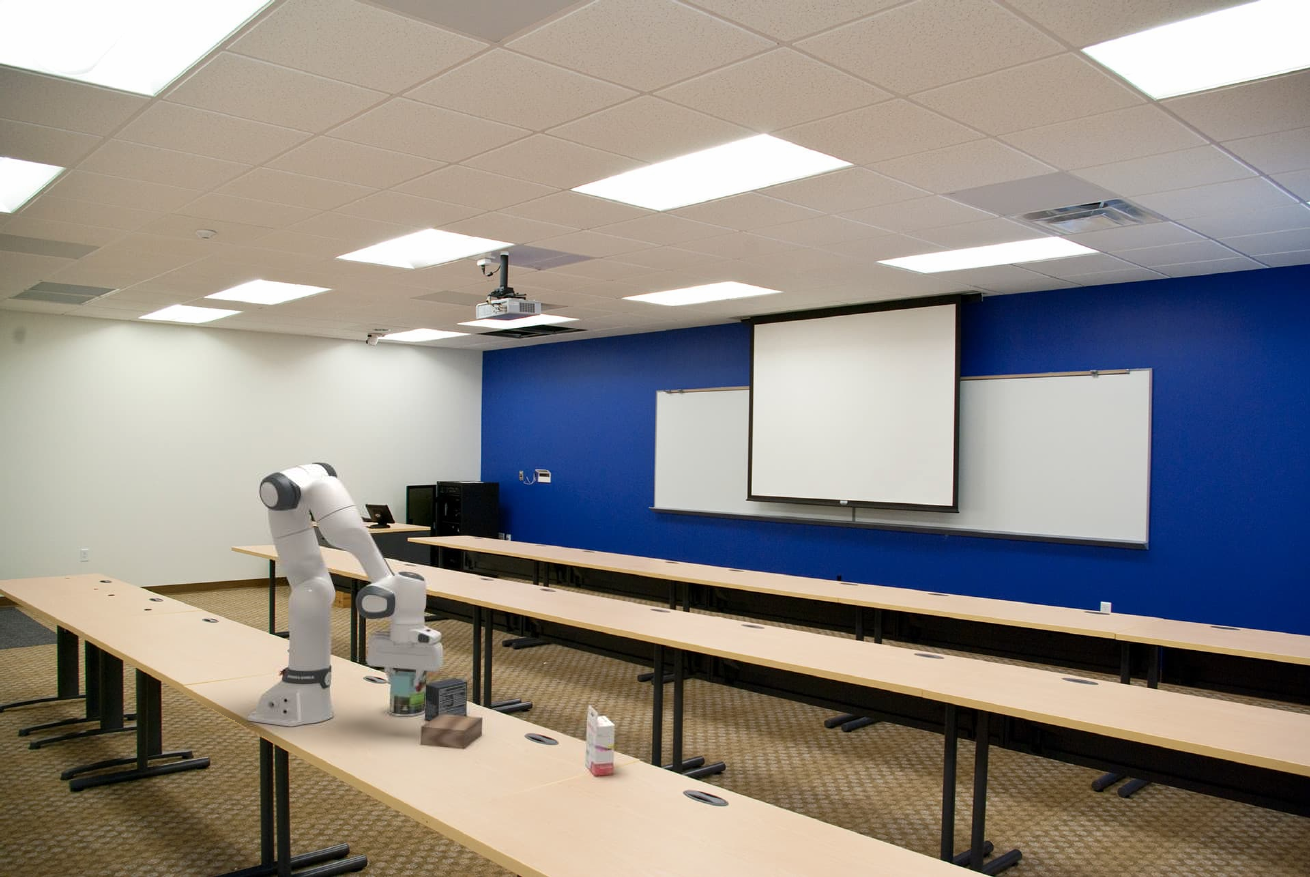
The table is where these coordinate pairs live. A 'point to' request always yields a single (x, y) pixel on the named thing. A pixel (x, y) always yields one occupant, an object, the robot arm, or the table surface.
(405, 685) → the teal cube
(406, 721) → the table surface
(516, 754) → the table surface
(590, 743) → the ink cartridge box
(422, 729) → the walnut base block
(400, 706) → the coffee can
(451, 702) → the small box
